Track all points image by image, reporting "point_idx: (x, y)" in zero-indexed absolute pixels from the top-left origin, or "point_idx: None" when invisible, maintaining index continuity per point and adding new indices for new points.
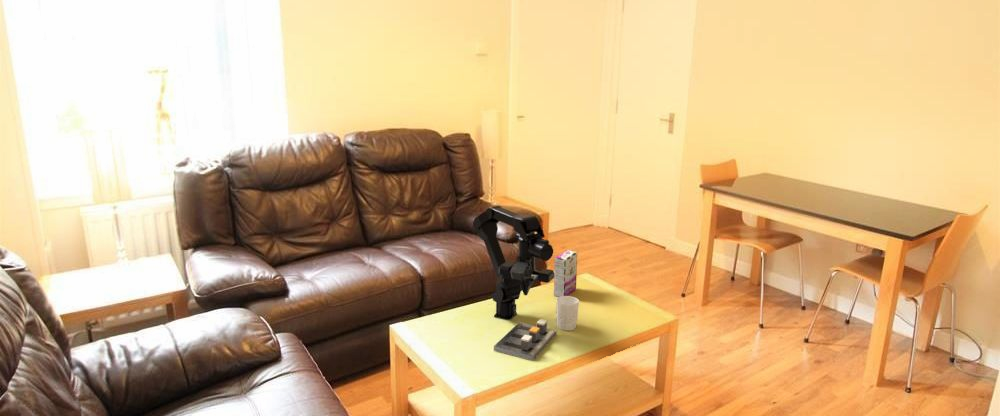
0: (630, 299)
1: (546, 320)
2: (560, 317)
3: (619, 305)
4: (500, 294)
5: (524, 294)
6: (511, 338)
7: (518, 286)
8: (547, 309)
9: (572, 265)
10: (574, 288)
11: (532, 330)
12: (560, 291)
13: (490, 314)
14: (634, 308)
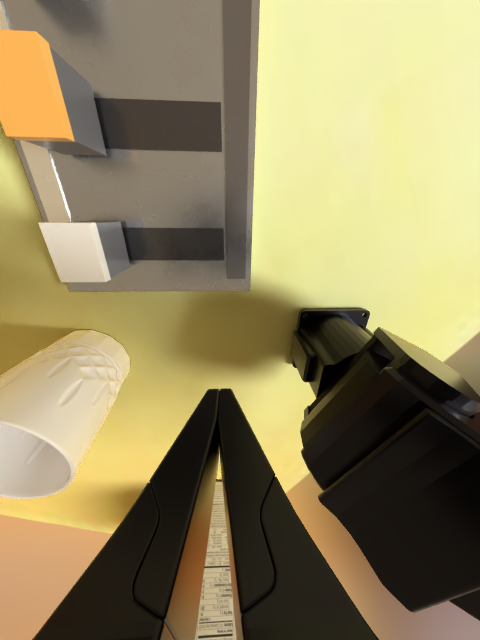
0: (69, 523)
1: (63, 279)
2: (61, 358)
3: (67, 499)
4: (429, 365)
5: (225, 392)
6: (204, 69)
7: (331, 477)
8: None
9: None
10: None
11: (11, 45)
12: (214, 500)
13: (383, 321)
14: (27, 501)
